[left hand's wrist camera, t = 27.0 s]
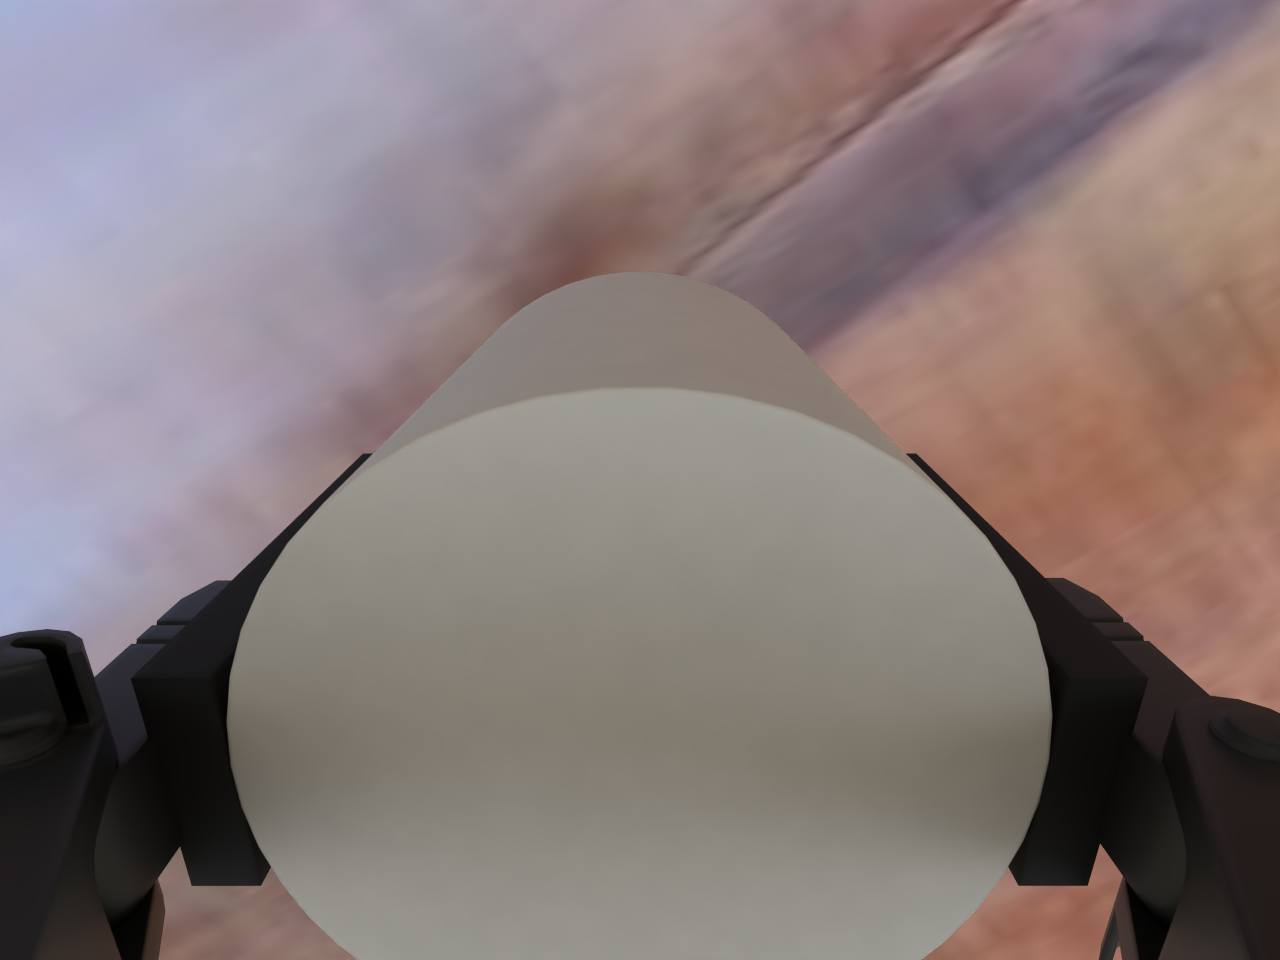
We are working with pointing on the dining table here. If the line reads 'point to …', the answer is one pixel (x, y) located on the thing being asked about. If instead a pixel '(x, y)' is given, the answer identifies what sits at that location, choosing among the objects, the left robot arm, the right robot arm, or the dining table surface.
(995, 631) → the can
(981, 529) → the left robot arm
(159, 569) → the dining table surface
